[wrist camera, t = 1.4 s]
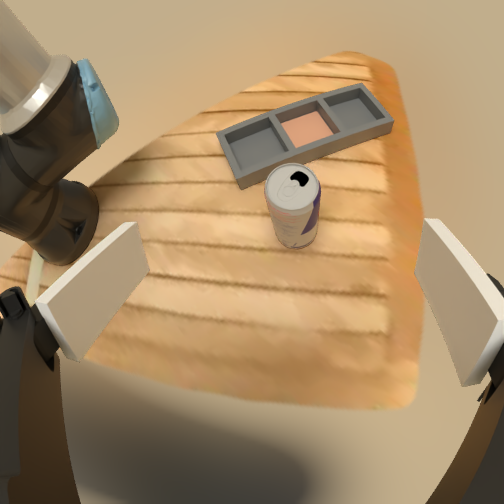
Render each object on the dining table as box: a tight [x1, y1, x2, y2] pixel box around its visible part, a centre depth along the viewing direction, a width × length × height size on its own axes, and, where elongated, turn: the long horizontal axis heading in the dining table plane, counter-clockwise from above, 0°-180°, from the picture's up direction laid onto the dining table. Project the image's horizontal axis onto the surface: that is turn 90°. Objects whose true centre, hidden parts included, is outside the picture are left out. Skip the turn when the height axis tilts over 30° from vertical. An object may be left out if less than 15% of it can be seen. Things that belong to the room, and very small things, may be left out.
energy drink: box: [264, 163, 321, 249], centre depth 32 cm, size 5×5×12 cm
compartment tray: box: [216, 83, 394, 190], centre depth 40 cm, size 25×9×3 cm, turn 112°
